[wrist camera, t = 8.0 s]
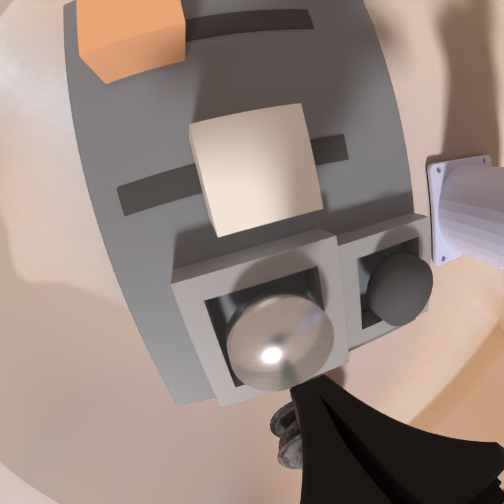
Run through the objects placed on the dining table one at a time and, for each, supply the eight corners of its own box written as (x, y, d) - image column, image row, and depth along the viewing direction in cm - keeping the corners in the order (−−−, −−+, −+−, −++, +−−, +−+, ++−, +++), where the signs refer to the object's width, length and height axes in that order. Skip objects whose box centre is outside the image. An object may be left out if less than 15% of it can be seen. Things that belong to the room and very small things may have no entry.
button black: (417, 243, 15) (433, 249, 14) (417, 302, 16) (431, 310, 15) (363, 263, 15) (378, 271, 13) (367, 325, 16) (380, 337, 15)
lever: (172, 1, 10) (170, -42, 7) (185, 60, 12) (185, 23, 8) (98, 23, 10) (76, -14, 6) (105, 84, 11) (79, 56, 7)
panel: (338, -22, 13) (361, -44, 9) (403, 311, 21) (431, 331, 17) (71, 15, 10) (52, -10, 7) (177, 391, 18) (178, 427, 15)
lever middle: (270, 120, 13) (300, 103, 9) (288, 198, 14) (323, 208, 11) (189, 138, 13) (188, 124, 9) (209, 219, 14) (218, 237, 10)
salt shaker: (253, 419, 20) (299, 549, 9) (318, 382, 21) (396, 502, 9) (284, 447, 22) (330, 551, 11) (340, 415, 23) (405, 513, 11)
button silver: (314, 274, 14) (328, 285, 12) (325, 354, 15) (337, 370, 14) (212, 306, 13) (215, 322, 12) (239, 384, 15) (244, 402, 13)
